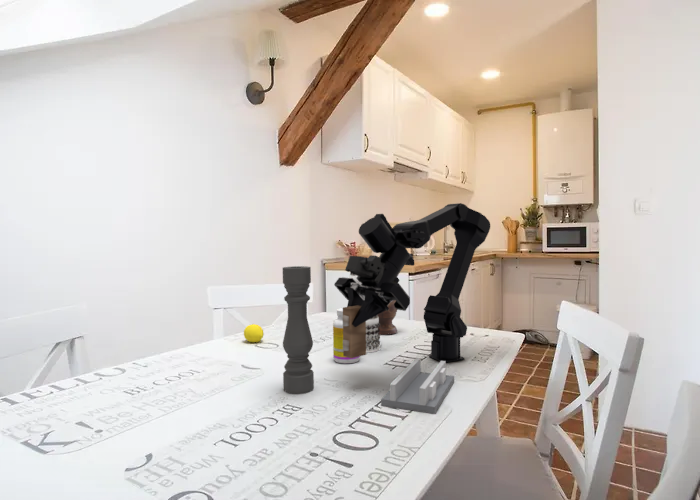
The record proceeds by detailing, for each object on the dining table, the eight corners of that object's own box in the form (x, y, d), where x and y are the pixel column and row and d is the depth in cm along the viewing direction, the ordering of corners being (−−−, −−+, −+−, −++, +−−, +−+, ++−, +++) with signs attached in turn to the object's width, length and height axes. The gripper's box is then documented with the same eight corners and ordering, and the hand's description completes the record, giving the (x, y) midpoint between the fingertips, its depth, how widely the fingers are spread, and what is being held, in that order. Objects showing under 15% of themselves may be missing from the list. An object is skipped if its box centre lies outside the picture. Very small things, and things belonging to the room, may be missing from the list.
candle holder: (318, 385, 92) (316, 266, 91) (306, 395, 86) (303, 268, 85) (291, 382, 94) (289, 266, 93) (278, 392, 88) (275, 268, 87)
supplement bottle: (357, 365, 106) (356, 312, 106) (330, 363, 107) (329, 311, 107) (362, 357, 113) (361, 307, 112) (336, 356, 114) (336, 307, 113)
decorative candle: (379, 344, 126) (378, 257, 125) (383, 352, 116) (382, 258, 116) (347, 344, 125) (346, 257, 125) (348, 353, 116) (347, 259, 115)
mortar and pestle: (383, 339, 132) (383, 272, 131) (360, 335, 137) (359, 271, 136) (403, 331, 141) (402, 269, 140) (380, 328, 146) (380, 268, 146)
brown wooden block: (358, 352, 93) (357, 305, 93) (366, 354, 91) (365, 306, 91) (340, 356, 90) (339, 308, 90) (347, 359, 88) (346, 309, 88)
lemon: (267, 343, 131) (269, 325, 130) (254, 347, 126) (256, 329, 126) (250, 337, 135) (252, 320, 134) (237, 340, 130) (238, 323, 130)
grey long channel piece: (408, 376, 97) (408, 357, 97) (454, 381, 93) (454, 362, 93) (381, 405, 81) (380, 382, 81) (435, 413, 77) (434, 390, 77)
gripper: (340, 241, 100) (300, 295, 93) (399, 242, 85) (356, 305, 79) (366, 274, 105) (330, 326, 98) (426, 279, 91) (388, 341, 84)
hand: (349, 324), depth 90 cm, fingers closed on brown wooden block, 2 cm apart
